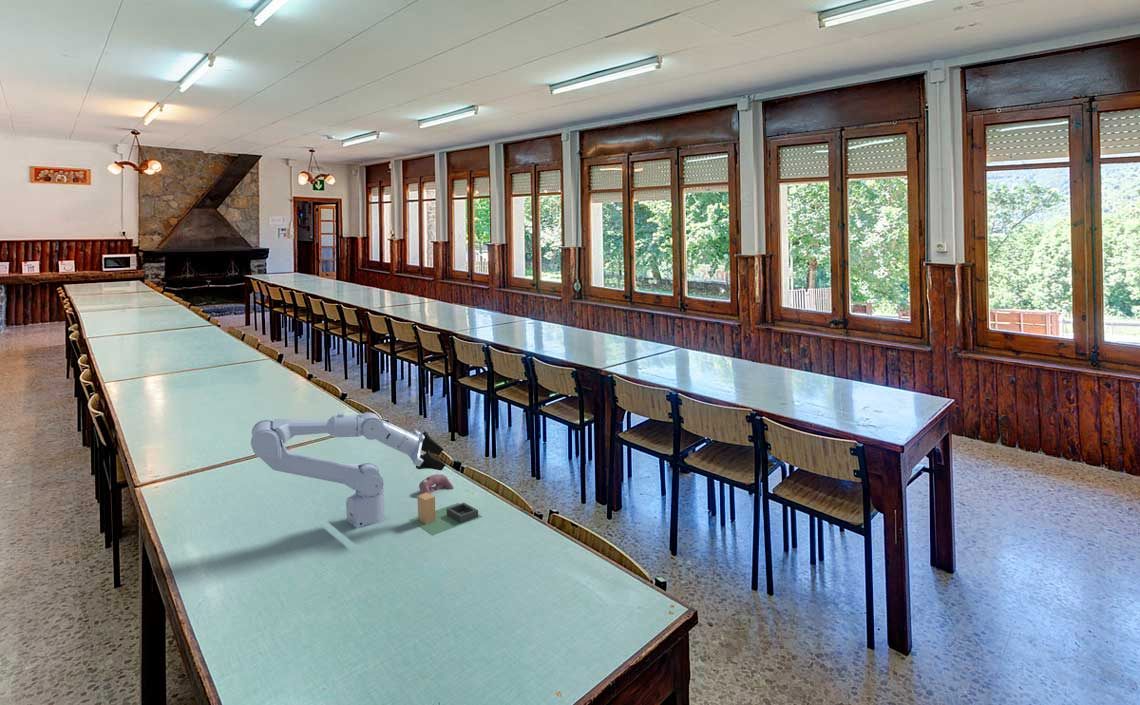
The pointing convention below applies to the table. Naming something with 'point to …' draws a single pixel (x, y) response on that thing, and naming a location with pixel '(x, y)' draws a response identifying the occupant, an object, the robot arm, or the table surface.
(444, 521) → the board
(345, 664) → the table surface
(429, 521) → the plug
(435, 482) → the video game controller
